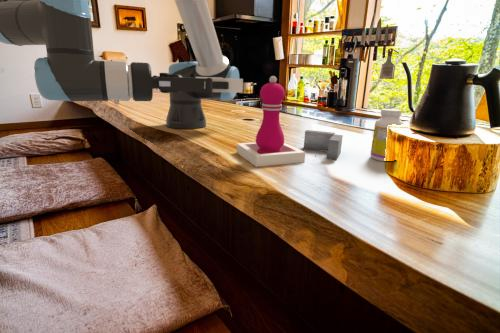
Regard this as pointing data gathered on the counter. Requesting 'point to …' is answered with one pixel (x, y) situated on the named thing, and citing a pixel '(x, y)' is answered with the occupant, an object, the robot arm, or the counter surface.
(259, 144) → the pepper mill
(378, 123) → the supplement bottle
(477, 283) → the counter surface
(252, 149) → the socket
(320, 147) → the corner bracket
